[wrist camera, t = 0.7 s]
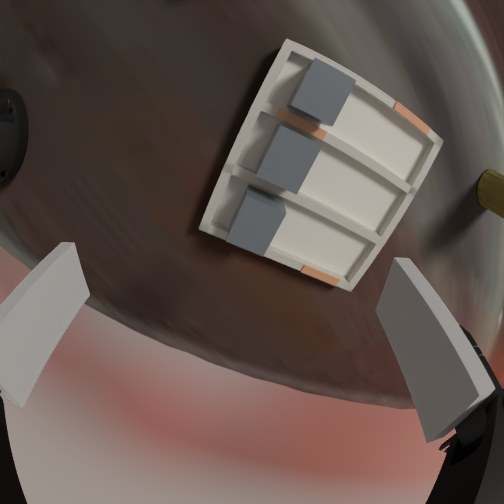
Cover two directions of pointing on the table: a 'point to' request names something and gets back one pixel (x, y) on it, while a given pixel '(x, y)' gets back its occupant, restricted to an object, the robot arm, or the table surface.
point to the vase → (492, 191)
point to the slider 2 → (321, 92)
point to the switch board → (329, 173)
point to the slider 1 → (256, 220)
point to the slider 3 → (287, 159)
